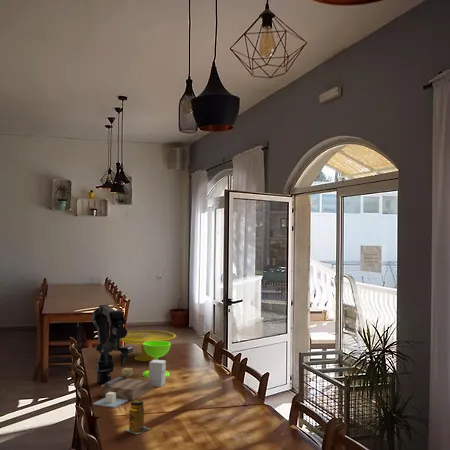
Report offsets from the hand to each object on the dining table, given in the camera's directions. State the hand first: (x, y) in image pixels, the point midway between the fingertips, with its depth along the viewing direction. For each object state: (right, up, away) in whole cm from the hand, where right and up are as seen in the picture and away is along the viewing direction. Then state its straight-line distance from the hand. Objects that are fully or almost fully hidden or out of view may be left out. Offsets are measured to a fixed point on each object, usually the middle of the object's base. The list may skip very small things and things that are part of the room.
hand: (113, 365), depth 286 cm
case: (+7, -13, -4) cm, 15 cm away
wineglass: (+17, -14, +35) cm, 41 cm away
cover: (+2, -13, -20) cm, 24 cm away
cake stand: (+5, -15, +75) cm, 77 cm away
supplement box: (+20, -14, +14) cm, 28 cm away
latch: (+6, -7, +8) cm, 12 cm away
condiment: (+21, -13, -56) cm, 61 cm away
